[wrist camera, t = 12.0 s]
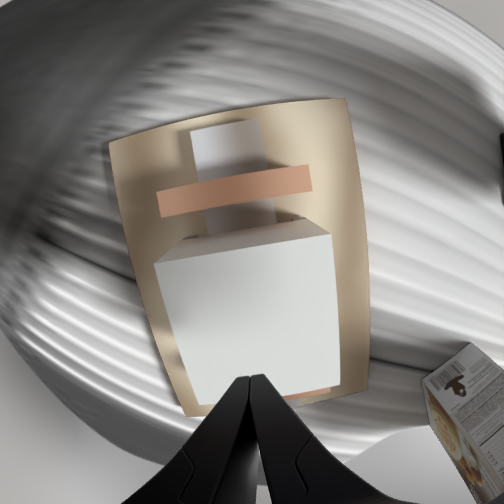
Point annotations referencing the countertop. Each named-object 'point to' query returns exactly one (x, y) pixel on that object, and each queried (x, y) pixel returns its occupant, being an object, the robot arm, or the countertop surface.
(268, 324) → the block
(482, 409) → the coffee box
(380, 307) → the countertop surface
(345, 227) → the rail board
